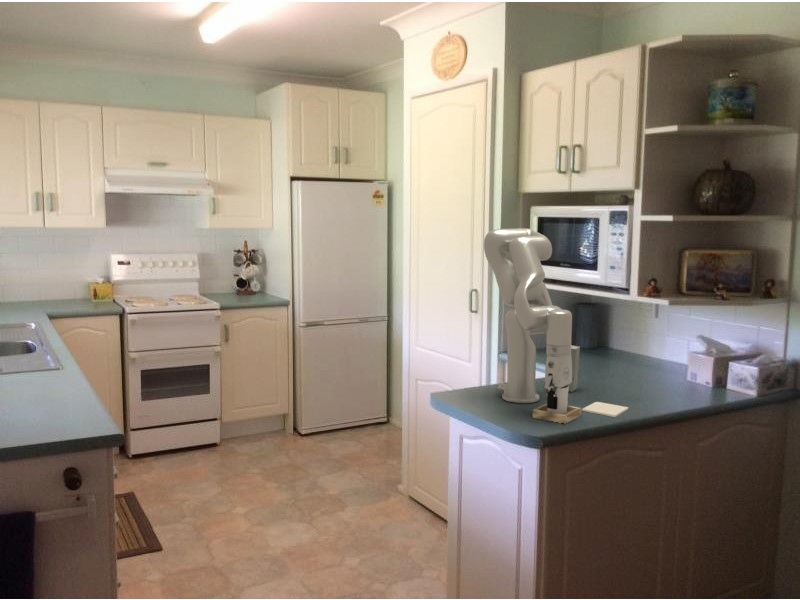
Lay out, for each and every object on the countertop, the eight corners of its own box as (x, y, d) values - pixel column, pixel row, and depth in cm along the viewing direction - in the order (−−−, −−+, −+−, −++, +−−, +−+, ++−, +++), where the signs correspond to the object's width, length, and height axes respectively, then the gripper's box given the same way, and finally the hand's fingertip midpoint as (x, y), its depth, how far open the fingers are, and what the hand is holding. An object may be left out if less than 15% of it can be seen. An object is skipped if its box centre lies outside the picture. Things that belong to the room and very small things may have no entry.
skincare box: (550, 389, 256) (551, 346, 254) (556, 385, 262) (557, 342, 260) (574, 392, 252) (575, 348, 250) (579, 387, 258) (580, 344, 256)
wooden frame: (532, 417, 224) (532, 409, 223) (549, 409, 232) (549, 402, 232) (565, 424, 217) (565, 416, 216) (580, 415, 225) (581, 408, 225)
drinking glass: (564, 413, 228) (565, 382, 226) (570, 419, 221) (571, 388, 220) (543, 413, 228) (544, 383, 226) (548, 420, 221) (549, 388, 220)
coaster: (581, 410, 230) (581, 409, 230) (596, 403, 239) (596, 401, 239) (614, 417, 224) (614, 415, 223) (628, 409, 232) (628, 407, 232)
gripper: (556, 356, 213) (555, 414, 215) (582, 346, 226) (580, 402, 228) (534, 352, 217) (532, 410, 220) (560, 343, 230) (558, 398, 233)
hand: (557, 405), depth 224 cm, fingers open, 5 cm apart
